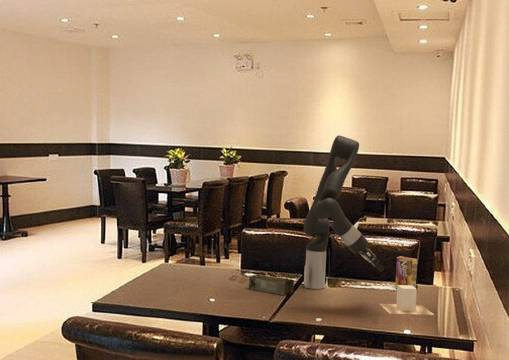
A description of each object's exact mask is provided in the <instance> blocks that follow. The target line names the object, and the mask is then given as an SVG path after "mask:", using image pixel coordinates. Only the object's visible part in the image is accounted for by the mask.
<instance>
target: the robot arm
mask: <svg viewBox="0 0 509 360" xmlns="http://www.w3.org/2000/svg"><path fill="white" fill-rule="evenodd" d="M359 149H360V143H359V141H357V140H355V139H352V138H349V137H345V136H342V135H336V136H335V138H334V140H333V142H332V145H331V147H330V151H329V154H328V157H327V162H326V164H325V168H324V171H323V174H322V176H321V179H320V182H319V184H318V187H317V190H316V193H315V197H314V199H313V201H312V203H311V206H310V208H309V210H308V212H307V214H306V217H305V220H304V222H303V232H304V234H305V235H306V236H311V237H316V238H315V239H313V240H312V241H310V242H308V243H307V244H306V248H305V249H306V250H305V251H306V252H305V264H304V274H303V286H304V288H305V289H311V290H323V289H324V288H325V285H326V284H325V283H326V263H327V247H328V244H329V233H330V226H331V228H332V231H334V232H335V234H336V235H338V237H339V238H340V240H341V241H342V242H343V244H344V245H345V246H347V247H348V249H349V250H350V251H351V252H352V253H353V254H359V255H361V257H363V259H364V260H366V261H368V263H370V264H371V266H372V267H373V268H376V269H377V270H378V271H379V272H380V273H382V272H383V271H385V270H386V268H385V267H384V265H382V264H381V262H380V259H378V258H377V256H376V255H375V253H373V252H372V250H371V248H368V247H367V245H368V239H367V238H366V237H365V236H364V235H363V234H362V233H361V232H360V231H359V230H358V229H357V227H356V226H354V225H353V224H352V223H351V221H350V220H349V219H348V218H347V217H346V215H345V213H344V211H343V209H342V207H341V206H340V203H339V202H338V201H337V200H338V199H339V198H340V196H341V192H342V191H343V186H344V184H345V181H346V178H347V177H348V175H349V173H350V171H351V170H352V167H353V165H354V162H355V160H356V158H357V155H358V153H359ZM337 158H338V159H341V160H344V161H345V162H344V163H343V164H342V165H341V166H340V167H338V168H337ZM329 218H331V220H332V222H331V223H330V221H329ZM330 224H331V225H330Z"/></svg>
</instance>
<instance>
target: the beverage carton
mask: <svg viewBox="0 0 509 360" xmlns="http://www.w3.org/2000/svg"><path fill="white" fill-rule="evenodd" d="M294 282H295V281H294V279H290V278H288V277H287V278H286V277H276V276H268V275H263V274H252V275H250V276H249V278H248V290H251V291H252V290H253V291H257V292H262V293H269V294H274V295H279V296H287V295H290V294H293V293H294V284H295V283H294Z"/></svg>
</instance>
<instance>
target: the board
mask: <svg viewBox="0 0 509 360" xmlns="http://www.w3.org/2000/svg"><path fill="white" fill-rule="evenodd" d="M379 305H380V307H382V308H383V309H384V311H386V312H387V314H390V315H394V314H395V315H420V316H421V315H426V316H435V314H434V313H433V312H431V311H430V310H429V309H427V307H425V306H424V305H422V304H416V311H400V310H399V309H398V308H397V307H396V303H379Z"/></svg>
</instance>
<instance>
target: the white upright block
mask: <svg viewBox="0 0 509 360" xmlns="http://www.w3.org/2000/svg"><path fill="white" fill-rule="evenodd" d="M395 304H396V307H397V308H398V309H399V310H400V311H416V305H417V287H416V288H415V287H413V286H411V285H397V289H396V303H395Z"/></svg>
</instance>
